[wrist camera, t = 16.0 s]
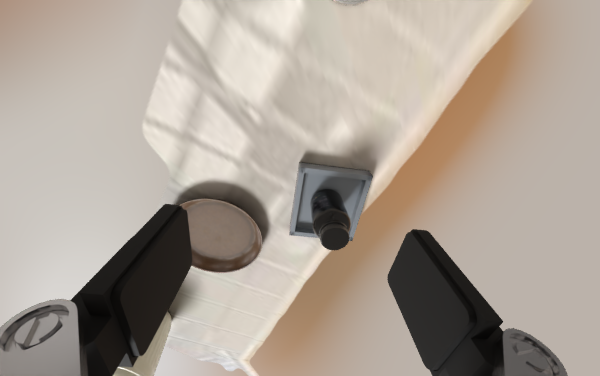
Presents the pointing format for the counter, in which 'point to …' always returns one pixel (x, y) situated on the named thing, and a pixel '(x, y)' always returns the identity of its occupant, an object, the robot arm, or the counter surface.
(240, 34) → the counter surface
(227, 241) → the plant saucer
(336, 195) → the supplement bottle
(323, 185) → the tray
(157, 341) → the canister
